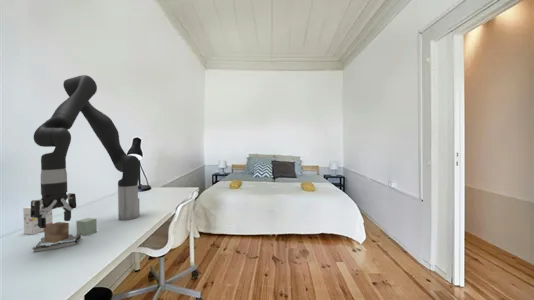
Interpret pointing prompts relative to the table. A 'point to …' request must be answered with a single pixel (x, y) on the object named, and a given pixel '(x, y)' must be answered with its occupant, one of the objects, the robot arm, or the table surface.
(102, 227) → the table surface
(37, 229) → the ink cartridge box
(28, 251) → the table surface
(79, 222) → the sage block
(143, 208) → the table surface
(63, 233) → the walnut block
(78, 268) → the table surface
